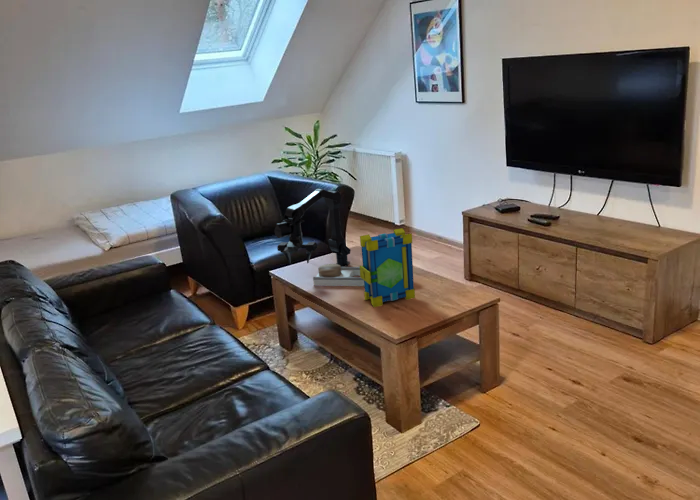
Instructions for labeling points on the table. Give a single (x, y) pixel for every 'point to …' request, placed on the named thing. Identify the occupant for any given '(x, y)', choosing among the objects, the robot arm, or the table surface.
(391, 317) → the table surface
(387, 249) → the decorative book
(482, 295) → the table surface
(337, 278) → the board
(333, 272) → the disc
